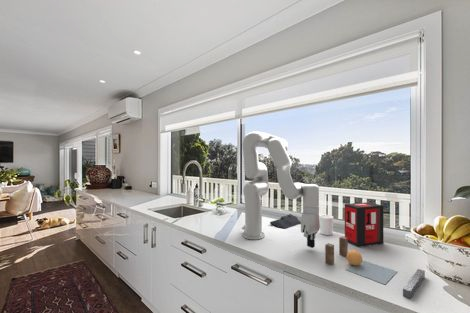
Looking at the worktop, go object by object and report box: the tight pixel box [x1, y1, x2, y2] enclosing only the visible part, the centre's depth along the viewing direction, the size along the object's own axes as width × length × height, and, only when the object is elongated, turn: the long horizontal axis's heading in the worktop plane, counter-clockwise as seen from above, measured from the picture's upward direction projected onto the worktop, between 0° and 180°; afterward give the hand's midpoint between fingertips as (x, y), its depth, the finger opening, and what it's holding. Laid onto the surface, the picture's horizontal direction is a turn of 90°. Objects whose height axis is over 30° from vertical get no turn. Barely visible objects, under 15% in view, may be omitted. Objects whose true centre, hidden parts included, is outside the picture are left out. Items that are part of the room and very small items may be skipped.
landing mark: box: [345, 259, 398, 285], centre depth 92 cm, size 14×14×1 cm
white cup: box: [319, 214, 334, 236], centre depth 136 cm, size 8×8×10 cm
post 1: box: [324, 243, 335, 266], centre depth 98 cm, size 3×3×8 cm
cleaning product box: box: [344, 201, 384, 248], centre depth 122 cm, size 16×9×20 cm, turn 105°
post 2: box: [338, 236, 349, 257], centre depth 106 cm, size 3×3×8 cm
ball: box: [345, 249, 363, 266], centre depth 97 cm, size 6×6×6 cm
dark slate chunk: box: [269, 213, 301, 230], centre depth 156 cm, size 15×22×5 cm
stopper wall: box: [402, 268, 426, 300], centre depth 81 cm, size 2×20×2 cm, turn 130°
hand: (310, 246), depth 112 cm, fingers closed
